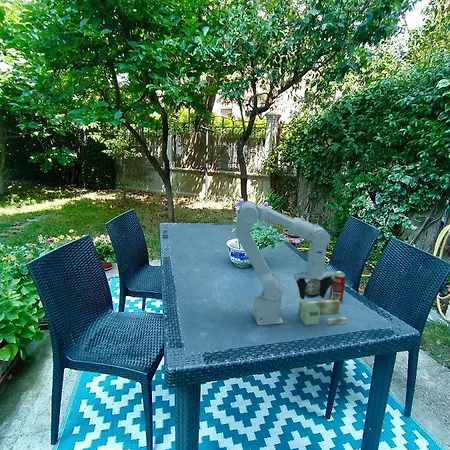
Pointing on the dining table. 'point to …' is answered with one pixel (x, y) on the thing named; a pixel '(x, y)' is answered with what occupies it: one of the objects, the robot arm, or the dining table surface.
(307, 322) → the cabinet block
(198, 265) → the dining table surface
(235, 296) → the dining table surface
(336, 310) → the wall board
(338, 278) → the soda can
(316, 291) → the mineral rock
